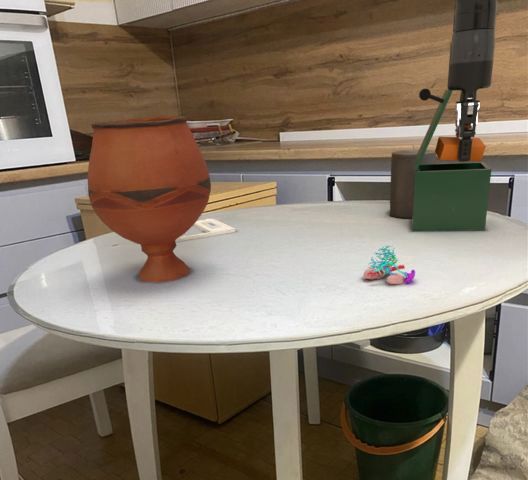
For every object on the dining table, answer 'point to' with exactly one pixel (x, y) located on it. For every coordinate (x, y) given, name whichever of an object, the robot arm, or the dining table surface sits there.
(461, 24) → the robot arm
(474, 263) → the dining table surface
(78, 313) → the dining table surface
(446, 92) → the bin lid
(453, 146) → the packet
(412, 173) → the pillar candle
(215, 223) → the photo frame
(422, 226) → the bin
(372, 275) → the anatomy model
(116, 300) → the dining table surface
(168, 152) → the goblet
